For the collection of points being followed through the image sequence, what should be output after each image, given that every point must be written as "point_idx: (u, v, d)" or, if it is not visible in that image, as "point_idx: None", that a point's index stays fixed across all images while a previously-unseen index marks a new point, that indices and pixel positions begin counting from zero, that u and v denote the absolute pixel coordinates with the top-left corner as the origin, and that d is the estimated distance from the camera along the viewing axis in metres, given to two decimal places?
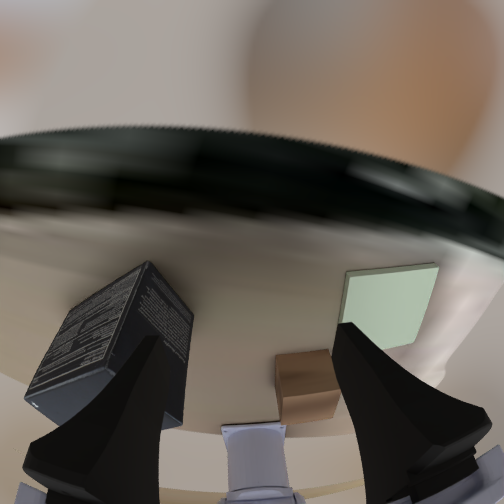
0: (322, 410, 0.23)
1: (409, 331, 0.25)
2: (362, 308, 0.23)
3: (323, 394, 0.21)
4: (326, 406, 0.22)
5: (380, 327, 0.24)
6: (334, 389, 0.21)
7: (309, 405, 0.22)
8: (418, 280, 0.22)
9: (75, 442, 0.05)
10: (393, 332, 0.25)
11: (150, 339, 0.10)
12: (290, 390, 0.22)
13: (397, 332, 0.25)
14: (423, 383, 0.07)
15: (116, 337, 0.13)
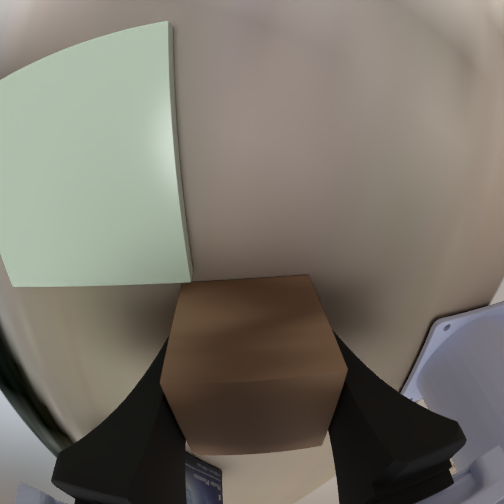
0: (276, 406, 0.08)
1: (110, 65, 0.07)
2: (48, 250, 0.09)
3: (184, 413, 0.08)
4: (255, 402, 0.07)
5: (87, 182, 0.08)
6: (166, 394, 0.07)
7: (238, 428, 0.08)
8: None
9: (109, 449, 0.05)
10: (107, 127, 0.08)
11: None
12: None
13: (108, 111, 0.07)
14: (395, 391, 0.07)
15: None
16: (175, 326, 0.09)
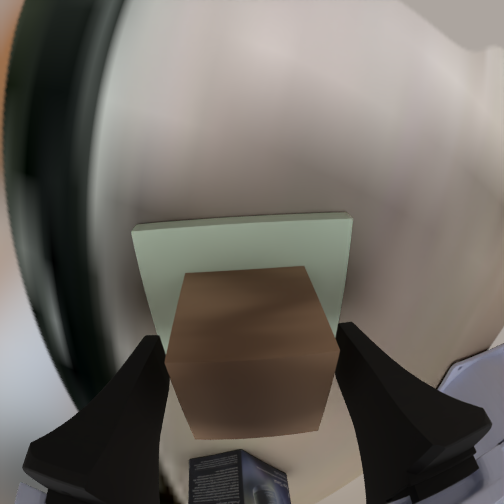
0: (273, 386, 0.08)
1: (307, 247, 0.12)
2: None
3: (187, 394, 0.08)
4: (254, 382, 0.08)
5: None
6: (170, 375, 0.08)
7: (238, 409, 0.09)
8: (164, 275, 0.12)
9: (75, 442, 0.05)
10: None
11: (150, 339, 0.10)
12: None
13: None
14: (423, 383, 0.07)
15: None
16: (178, 312, 0.10)
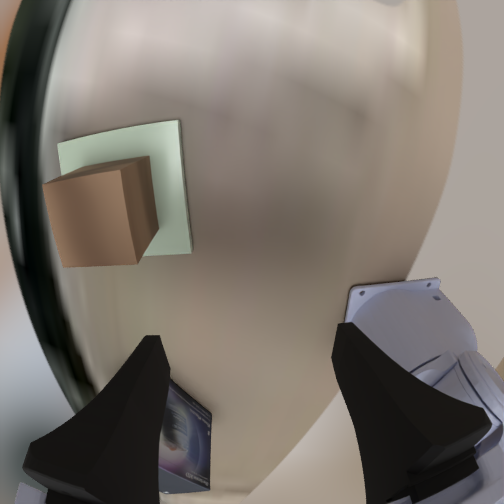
0: (91, 201, 0.13)
1: (149, 142, 0.16)
2: None
3: (52, 211, 0.13)
4: (80, 197, 0.13)
5: None
6: (45, 196, 0.12)
7: (78, 226, 0.13)
8: (73, 169, 0.17)
9: (75, 442, 0.05)
10: None
11: (150, 339, 0.10)
12: None
13: None
14: (423, 383, 0.07)
15: None
16: None
